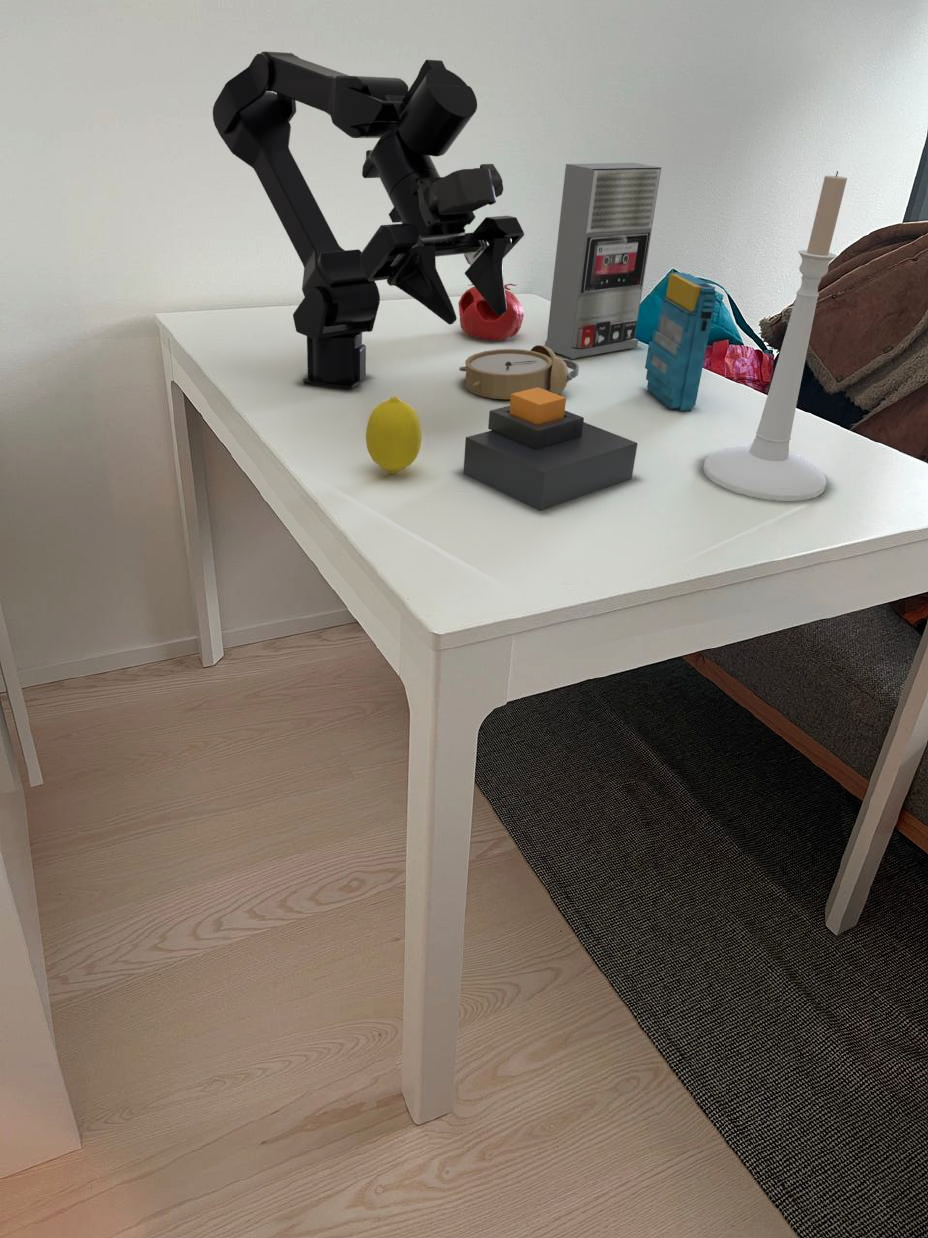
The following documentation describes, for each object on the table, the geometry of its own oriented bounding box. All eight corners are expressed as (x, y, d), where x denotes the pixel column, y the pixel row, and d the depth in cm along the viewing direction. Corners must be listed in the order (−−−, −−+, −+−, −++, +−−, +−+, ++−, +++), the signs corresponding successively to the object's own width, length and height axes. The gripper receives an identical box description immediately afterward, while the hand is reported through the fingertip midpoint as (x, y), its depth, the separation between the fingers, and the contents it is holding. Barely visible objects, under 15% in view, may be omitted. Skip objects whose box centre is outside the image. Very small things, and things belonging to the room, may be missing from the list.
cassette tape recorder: (573, 360, 136) (597, 169, 123) (544, 350, 140) (564, 163, 127) (637, 349, 143) (666, 168, 131) (608, 339, 147) (634, 162, 134)
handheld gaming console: (698, 412, 119) (722, 289, 112) (667, 412, 118) (689, 288, 111) (667, 387, 127) (688, 271, 120) (639, 388, 126) (658, 271, 119)
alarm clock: (454, 353, 125) (562, 332, 127) (458, 389, 127) (564, 368, 129) (474, 379, 115) (591, 356, 117) (478, 417, 118) (592, 394, 120)
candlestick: (681, 474, 101) (742, 165, 85) (735, 445, 110) (799, 160, 94) (795, 512, 94) (883, 183, 79) (843, 478, 103) (930, 176, 87)
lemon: (399, 489, 93) (401, 410, 89) (354, 474, 95) (354, 397, 91) (430, 472, 97) (434, 396, 93) (386, 459, 99) (388, 384, 95)
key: (508, 415, 97) (510, 393, 96) (535, 408, 99) (538, 386, 98) (536, 427, 94) (539, 404, 93) (563, 419, 97) (566, 397, 95)
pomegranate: (486, 323, 151) (491, 262, 146) (534, 338, 145) (540, 275, 140) (442, 332, 145) (446, 268, 140) (490, 347, 139) (496, 282, 134)
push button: (460, 472, 97) (463, 416, 94) (552, 445, 106) (558, 393, 103) (540, 511, 91) (547, 452, 87) (631, 478, 99) (641, 423, 96)
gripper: (379, 132, 87) (452, 280, 86) (520, 132, 99) (586, 263, 98) (330, 210, 96) (395, 346, 95) (464, 202, 107) (524, 323, 106)
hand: (478, 317), depth 98 cm, fingers open, 7 cm apart
